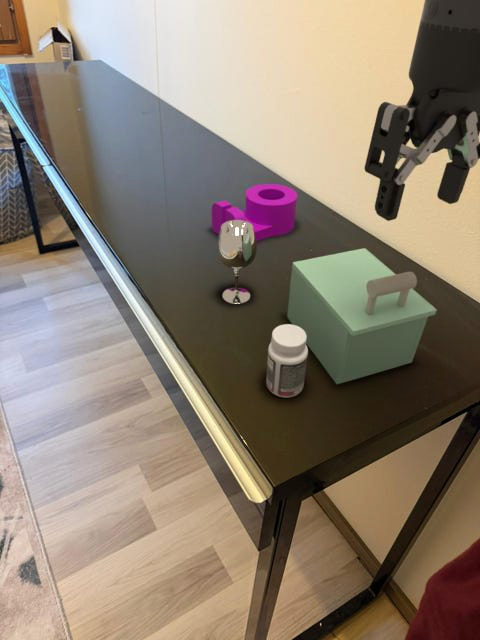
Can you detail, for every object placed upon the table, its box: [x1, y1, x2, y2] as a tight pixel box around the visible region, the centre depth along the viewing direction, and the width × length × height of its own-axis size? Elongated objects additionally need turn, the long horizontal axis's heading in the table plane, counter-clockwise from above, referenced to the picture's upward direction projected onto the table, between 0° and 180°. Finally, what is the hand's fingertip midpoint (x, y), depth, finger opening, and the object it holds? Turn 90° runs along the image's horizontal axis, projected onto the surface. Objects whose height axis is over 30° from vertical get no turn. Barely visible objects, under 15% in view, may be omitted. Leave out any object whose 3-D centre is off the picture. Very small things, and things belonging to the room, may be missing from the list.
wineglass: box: [216, 220, 258, 305], centre depth 68 cm, size 6×6×12 cm
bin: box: [286, 267, 429, 385], centre depth 62 cm, size 15×12×9 cm
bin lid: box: [291, 247, 438, 336], centre depth 57 cm, size 16×12×5 cm
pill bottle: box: [265, 323, 309, 399], centre depth 55 cm, size 5×5×8 cm
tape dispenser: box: [211, 183, 298, 242], centre depth 88 cm, size 16×10×6 cm, turn 125°
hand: (417, 208), depth 46 cm, fingers open, 8 cm apart
